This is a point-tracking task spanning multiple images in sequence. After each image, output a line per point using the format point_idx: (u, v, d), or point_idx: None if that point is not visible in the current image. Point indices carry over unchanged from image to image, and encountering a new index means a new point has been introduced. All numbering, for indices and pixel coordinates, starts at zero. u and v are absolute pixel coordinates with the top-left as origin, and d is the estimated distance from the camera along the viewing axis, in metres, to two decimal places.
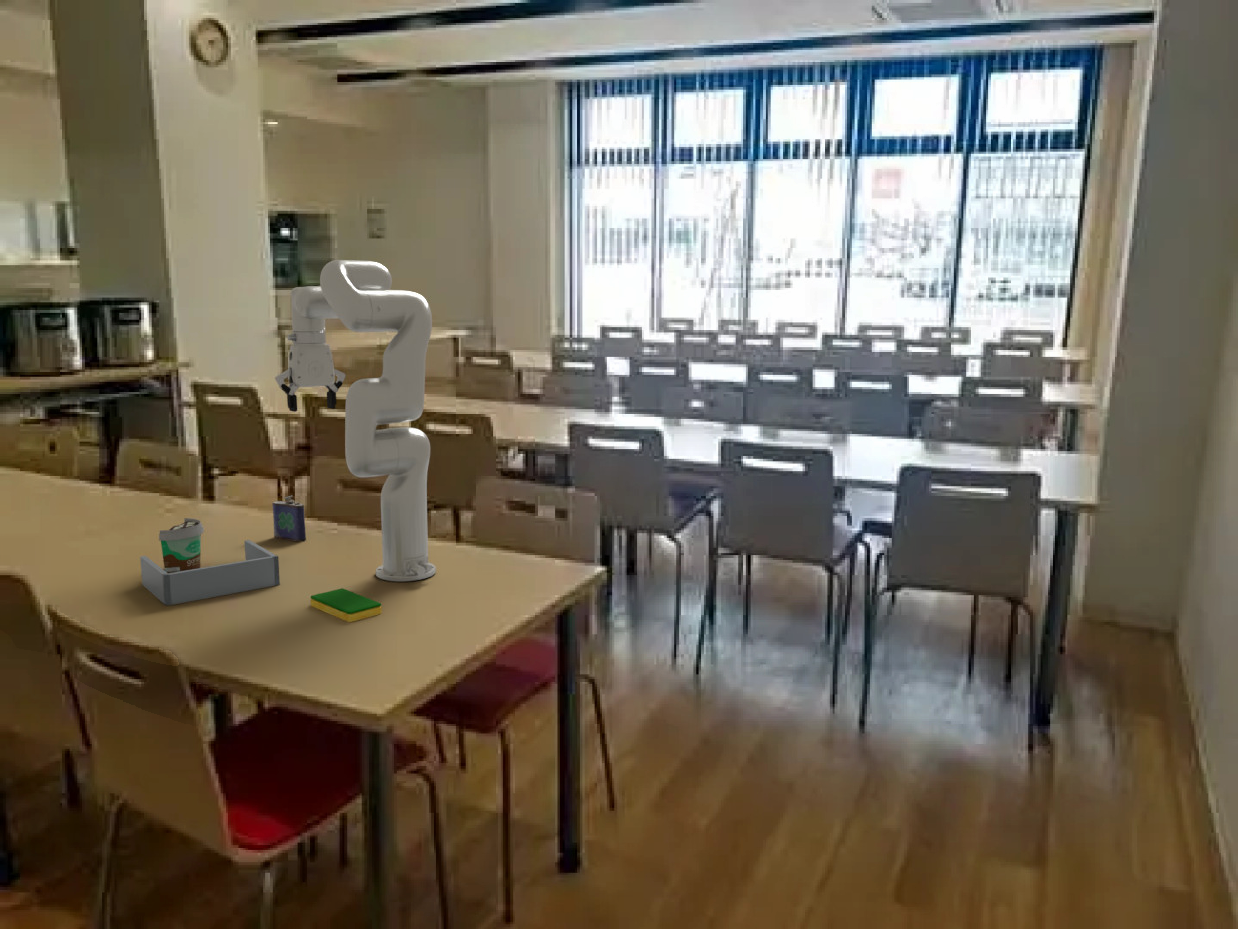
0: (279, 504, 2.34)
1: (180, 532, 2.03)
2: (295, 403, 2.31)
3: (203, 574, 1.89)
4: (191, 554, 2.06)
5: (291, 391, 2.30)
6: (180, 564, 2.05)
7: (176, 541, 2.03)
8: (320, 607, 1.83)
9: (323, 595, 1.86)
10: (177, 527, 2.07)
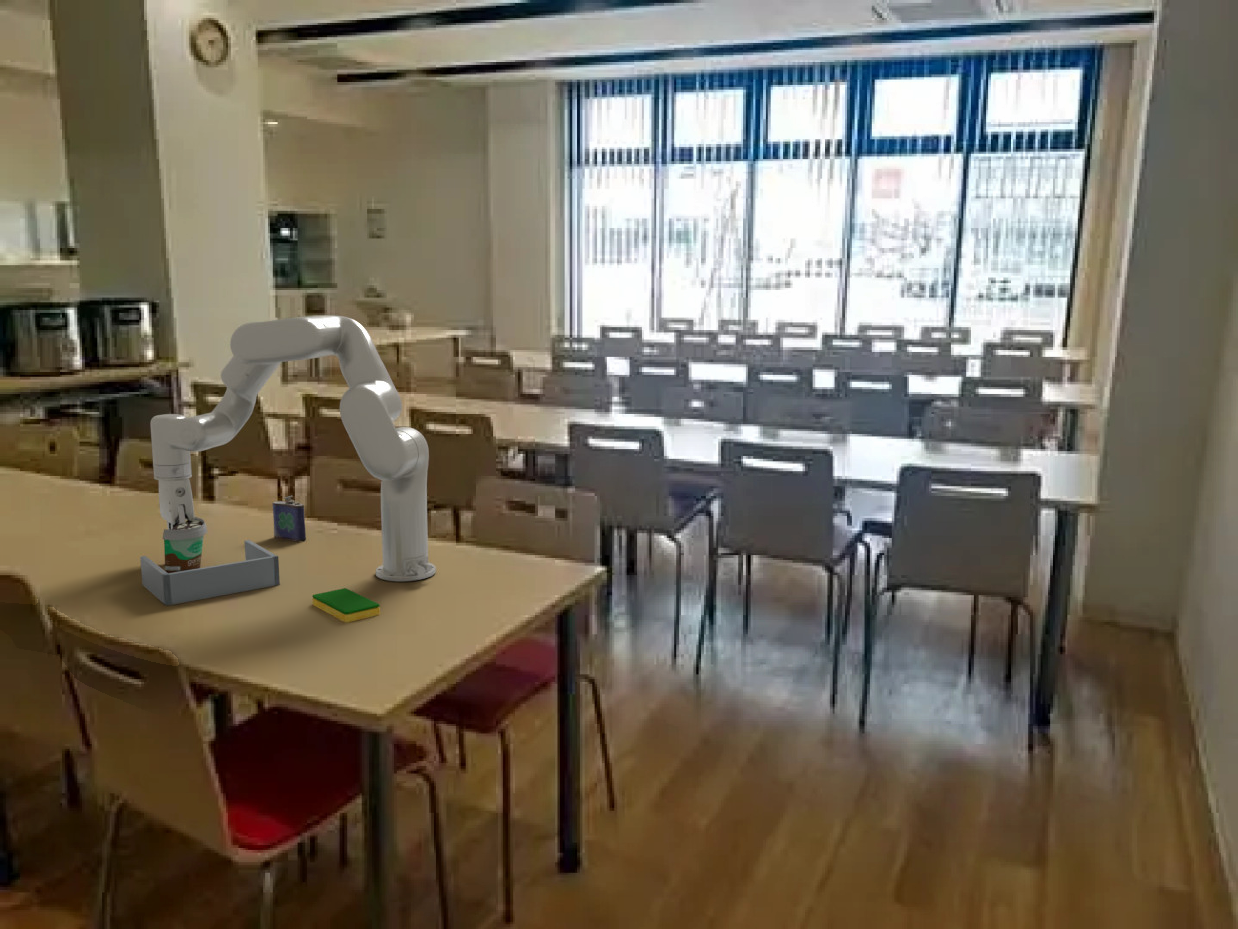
0: (279, 504, 2.34)
1: (184, 532, 2.03)
2: None
3: (203, 574, 1.89)
4: (193, 555, 2.06)
5: None
6: (181, 564, 2.05)
7: (179, 541, 2.03)
8: (320, 606, 1.84)
9: (324, 594, 1.86)
10: (180, 526, 2.07)
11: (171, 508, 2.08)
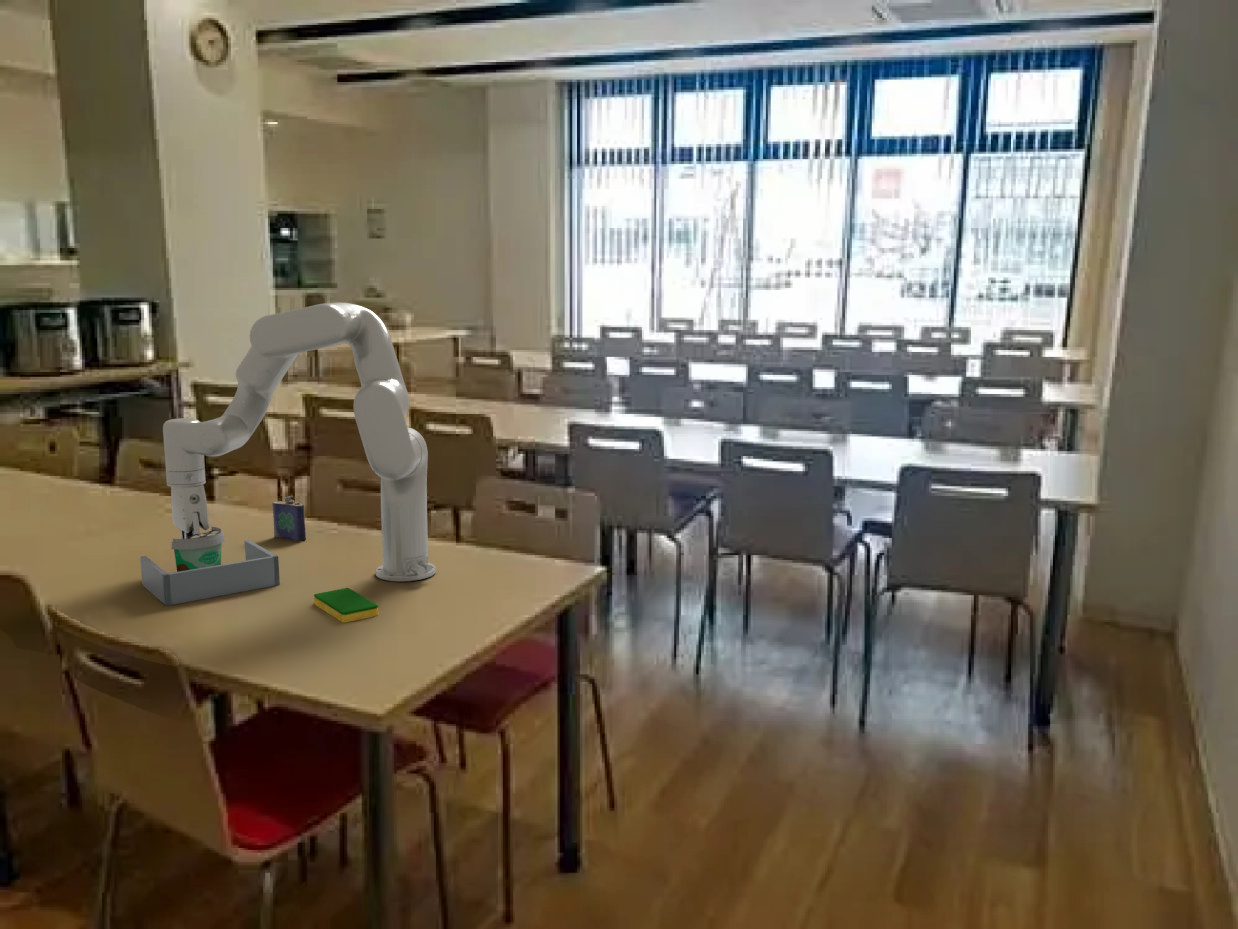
0: (279, 504, 2.34)
1: (192, 542, 1.95)
2: None
3: (203, 574, 1.89)
4: (205, 566, 1.98)
5: None
6: None
7: (188, 551, 1.96)
8: (321, 606, 1.84)
9: (326, 594, 1.87)
10: (196, 536, 2.00)
11: (185, 516, 2.00)
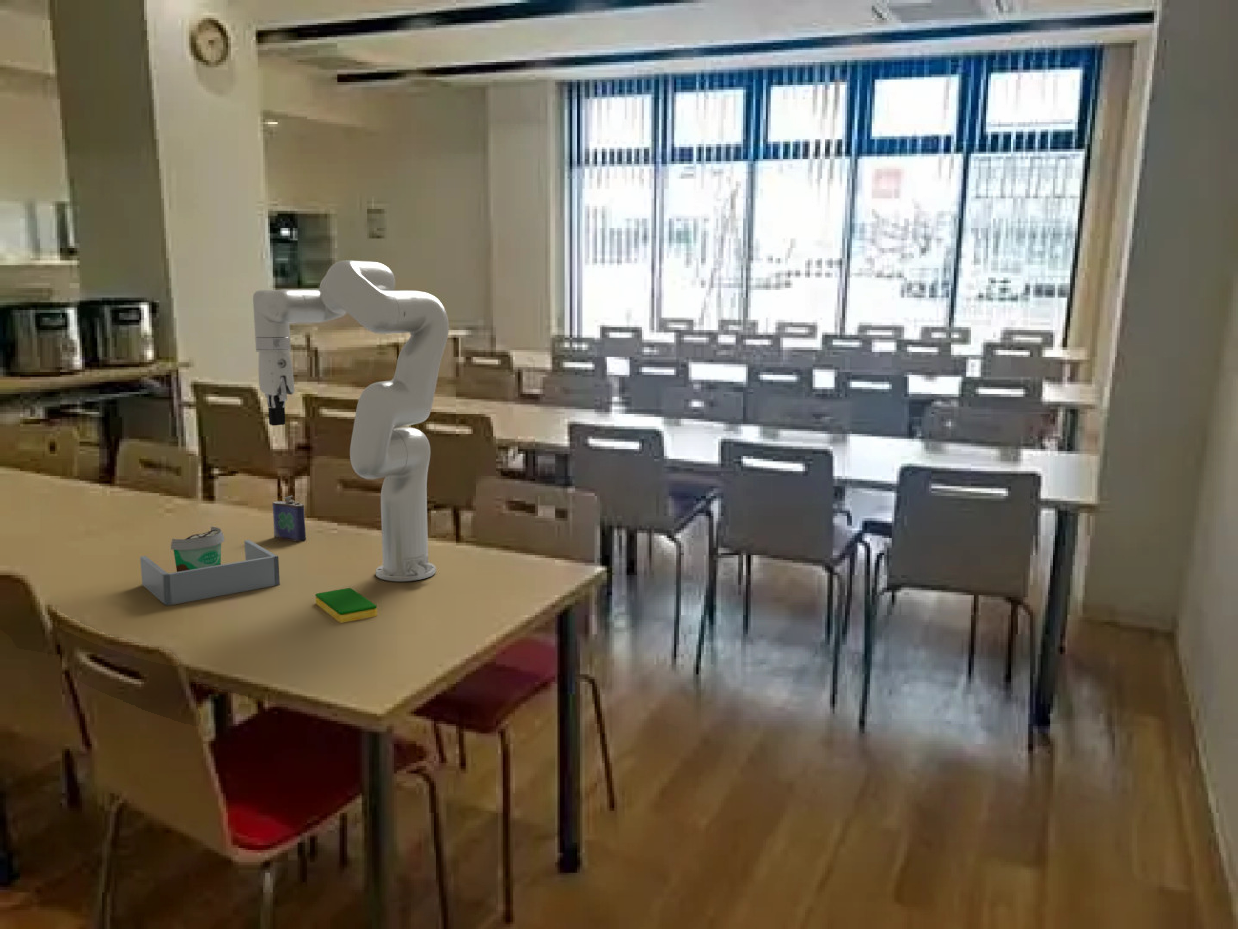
0: (279, 504, 2.34)
1: (191, 542, 1.95)
2: None
3: (203, 574, 1.89)
4: (205, 566, 1.98)
5: None
6: None
7: (188, 551, 1.96)
8: (321, 605, 1.84)
9: (327, 593, 1.87)
10: (195, 536, 2.00)
11: (273, 378, 2.16)
